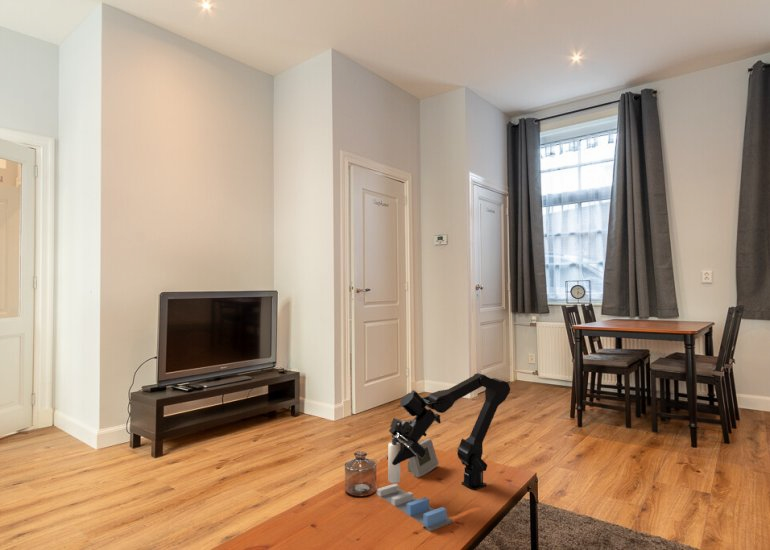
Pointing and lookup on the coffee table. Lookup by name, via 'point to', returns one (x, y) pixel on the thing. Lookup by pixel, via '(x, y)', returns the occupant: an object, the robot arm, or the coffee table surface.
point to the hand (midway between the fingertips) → (390, 462)
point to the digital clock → (423, 460)
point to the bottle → (392, 453)
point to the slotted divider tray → (415, 507)
